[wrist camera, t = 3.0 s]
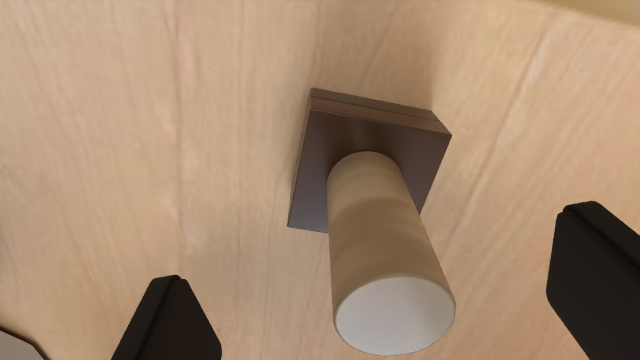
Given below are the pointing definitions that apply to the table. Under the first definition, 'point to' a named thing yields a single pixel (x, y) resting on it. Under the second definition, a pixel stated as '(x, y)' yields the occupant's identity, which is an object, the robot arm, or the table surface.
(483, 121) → the table surface
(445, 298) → the peg on square base
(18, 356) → the flask
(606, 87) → the table surface
